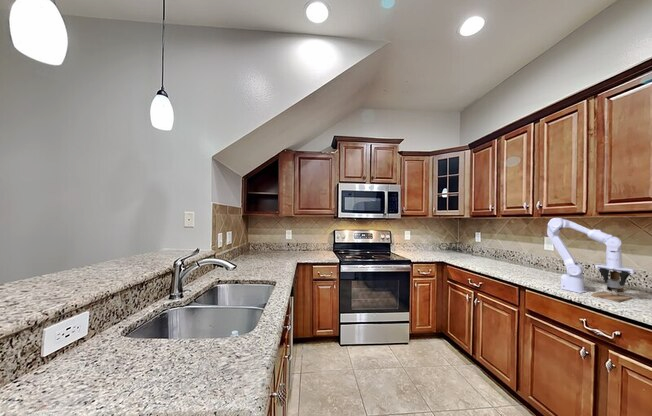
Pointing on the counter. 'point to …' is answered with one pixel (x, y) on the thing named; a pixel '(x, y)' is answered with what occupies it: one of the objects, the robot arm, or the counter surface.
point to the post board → (611, 296)
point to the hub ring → (613, 283)
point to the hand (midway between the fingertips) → (614, 284)
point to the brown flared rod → (615, 276)
